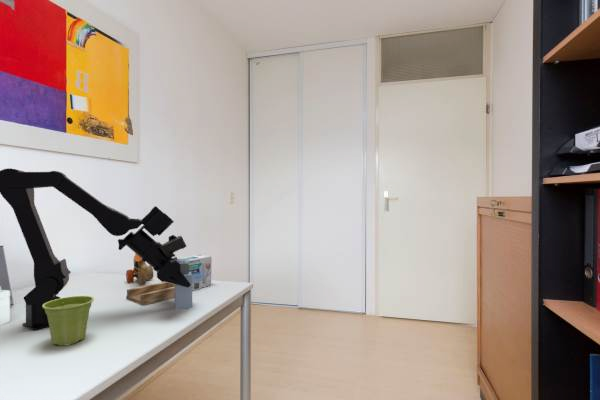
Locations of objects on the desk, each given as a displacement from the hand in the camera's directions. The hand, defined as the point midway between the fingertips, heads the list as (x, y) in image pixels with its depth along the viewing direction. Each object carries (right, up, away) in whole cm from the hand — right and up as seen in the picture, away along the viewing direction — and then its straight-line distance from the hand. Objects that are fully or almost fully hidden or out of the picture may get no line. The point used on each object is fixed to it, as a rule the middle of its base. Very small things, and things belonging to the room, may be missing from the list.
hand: (188, 283), depth 99 cm
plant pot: (-18, -7, -24) cm, 31 cm away
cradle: (-13, -7, +9) cm, 17 cm away
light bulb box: (-5, -7, +21) cm, 22 cm away
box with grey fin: (-1, -7, -1) cm, 7 cm away
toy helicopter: (-25, -7, +25) cm, 36 cm away
